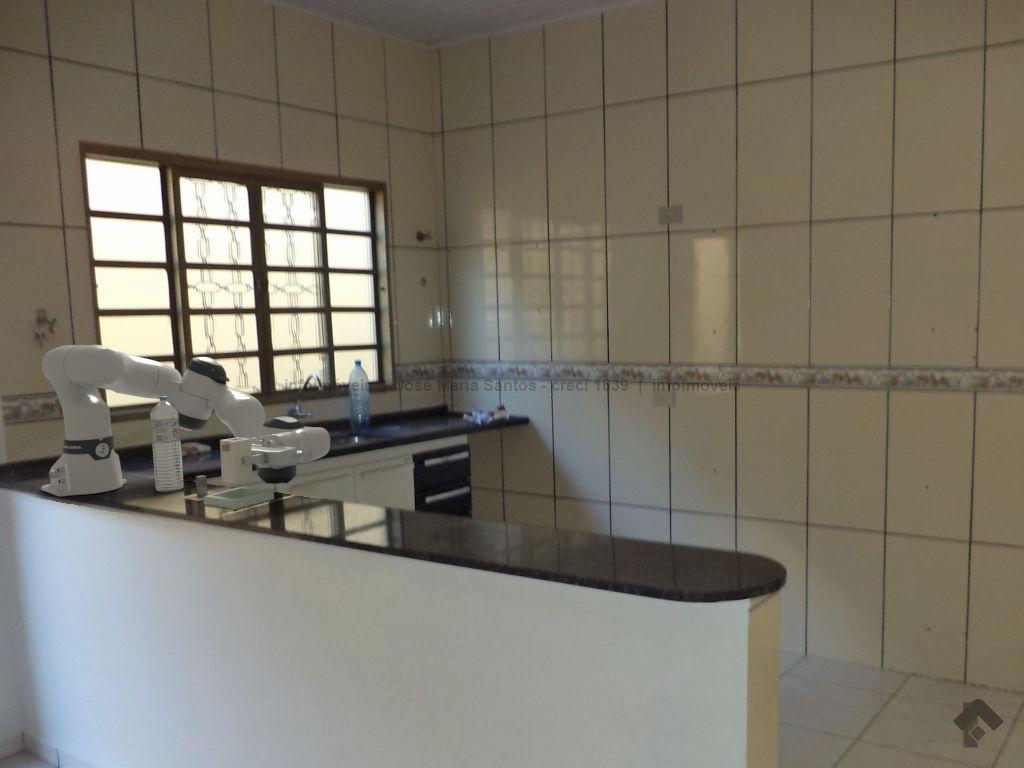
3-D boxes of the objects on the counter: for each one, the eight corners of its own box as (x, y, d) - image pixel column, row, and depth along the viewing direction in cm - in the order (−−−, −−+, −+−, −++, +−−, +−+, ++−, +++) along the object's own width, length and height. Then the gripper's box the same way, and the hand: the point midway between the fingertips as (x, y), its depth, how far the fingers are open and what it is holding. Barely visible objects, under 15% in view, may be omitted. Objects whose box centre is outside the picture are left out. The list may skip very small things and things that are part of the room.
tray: (204, 506, 200) (203, 496, 200) (243, 496, 210) (242, 486, 210) (235, 511, 194) (235, 500, 194) (274, 500, 204) (273, 490, 203)
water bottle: (171, 487, 224) (164, 395, 222) (189, 489, 221) (183, 395, 219) (150, 492, 218) (142, 397, 216) (169, 494, 215) (161, 398, 213)
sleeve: (218, 482, 199) (216, 440, 199) (238, 478, 204) (237, 437, 204) (232, 484, 197) (230, 442, 196) (252, 479, 202) (250, 438, 201)
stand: (178, 500, 208) (177, 478, 208) (205, 493, 215) (204, 472, 214) (199, 503, 204) (197, 480, 203) (226, 496, 211) (224, 474, 210)
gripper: (309, 465, 206) (265, 476, 195) (253, 460, 217) (208, 470, 206) (307, 440, 206) (263, 449, 194) (251, 436, 217) (206, 444, 205)
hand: (234, 460), depth 200 cm, fingers closed on sleeve, 5 cm apart
